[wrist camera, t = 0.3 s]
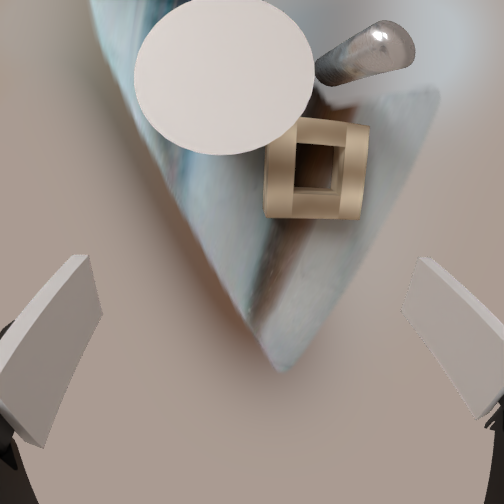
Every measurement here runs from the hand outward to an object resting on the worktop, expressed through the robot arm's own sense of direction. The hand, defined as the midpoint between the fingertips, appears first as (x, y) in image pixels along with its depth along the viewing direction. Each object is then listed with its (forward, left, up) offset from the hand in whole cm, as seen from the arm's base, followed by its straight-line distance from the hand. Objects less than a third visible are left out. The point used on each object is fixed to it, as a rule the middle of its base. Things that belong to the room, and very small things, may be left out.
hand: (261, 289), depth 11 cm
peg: (-14, +11, -28) cm, 33 cm away
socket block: (-1, +9, -27) cm, 29 cm away
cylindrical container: (-8, -1, -28) cm, 29 cm away
